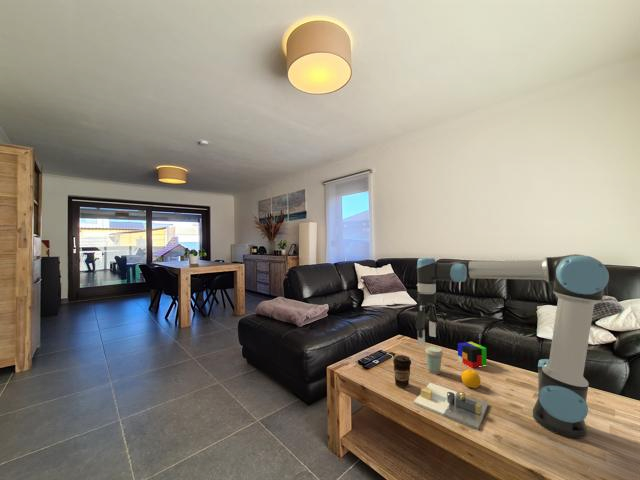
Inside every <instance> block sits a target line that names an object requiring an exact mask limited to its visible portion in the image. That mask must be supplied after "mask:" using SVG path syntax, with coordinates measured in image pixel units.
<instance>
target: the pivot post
mask: <svg viewBox="0 0 640 480" xmlns="http://www.w3.org/2000/svg"><path fill="white" fill-rule="evenodd" d="M447 402H448V403H450V404H454V403H455V394H454V393H452V392H447Z"/></svg>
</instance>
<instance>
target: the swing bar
mask: <svg viewBox="0 0 640 480" xmlns="http://www.w3.org/2000/svg"><path fill="white" fill-rule="evenodd" d="M459 393H460V396H457V397H456V406H458V407H461V408H464V409H466V410H469V411H472V412H474V413H477V414H481V411H482V404H480V403H478V402H475V401H472V400H469V399H466V398H465V395H466V392H464V391H459Z"/></svg>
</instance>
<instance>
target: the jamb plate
mask: <svg viewBox="0 0 640 480" xmlns="http://www.w3.org/2000/svg"><path fill="white" fill-rule="evenodd" d="M456 392H457V393H456V395H455V403H454V404H449V406H448V408H447V409H446V411H445V412H444V416H443V417H444V418H447V419H450V420H452V421H454V422H457V423H459V424H462V425H464V426H466V427H469V428H471V429H473V430H477V431H479V430H480V428H481V426H482V425H481V424H482V423H483V420H484V417H485V414H486V412H487V410H488V407H489V402H487V401H484V400H482V399H478V398H476V397H472V396H470V395H468V394H465V398H466V399H469V400H472V401H475V402H478V403H480V404H482V411H481V414H477V413H474V412H472V411H469V410H466V409H464V408H461V407H458V406H456V397H457V396H460V391H459V392H458V391H456Z"/></svg>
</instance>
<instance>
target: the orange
mask: <svg viewBox="0 0 640 480" xmlns="http://www.w3.org/2000/svg"><path fill="white" fill-rule="evenodd" d="M461 381H462V383H463V385H465V386H466V387H468V388H470V389H471V388H472V389H477V388H479V386H481V383H482V381H481V377H480V375H479V374H478V373H477V372H476V371H475V370H473V369H471V368H470V369H465V370H463V371H462V372H461Z"/></svg>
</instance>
